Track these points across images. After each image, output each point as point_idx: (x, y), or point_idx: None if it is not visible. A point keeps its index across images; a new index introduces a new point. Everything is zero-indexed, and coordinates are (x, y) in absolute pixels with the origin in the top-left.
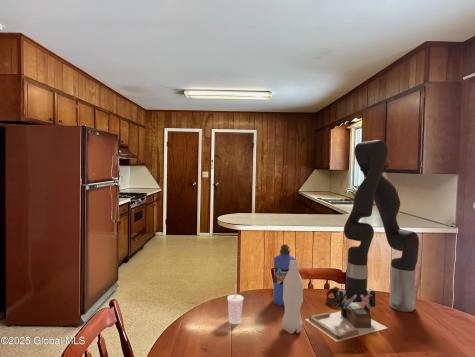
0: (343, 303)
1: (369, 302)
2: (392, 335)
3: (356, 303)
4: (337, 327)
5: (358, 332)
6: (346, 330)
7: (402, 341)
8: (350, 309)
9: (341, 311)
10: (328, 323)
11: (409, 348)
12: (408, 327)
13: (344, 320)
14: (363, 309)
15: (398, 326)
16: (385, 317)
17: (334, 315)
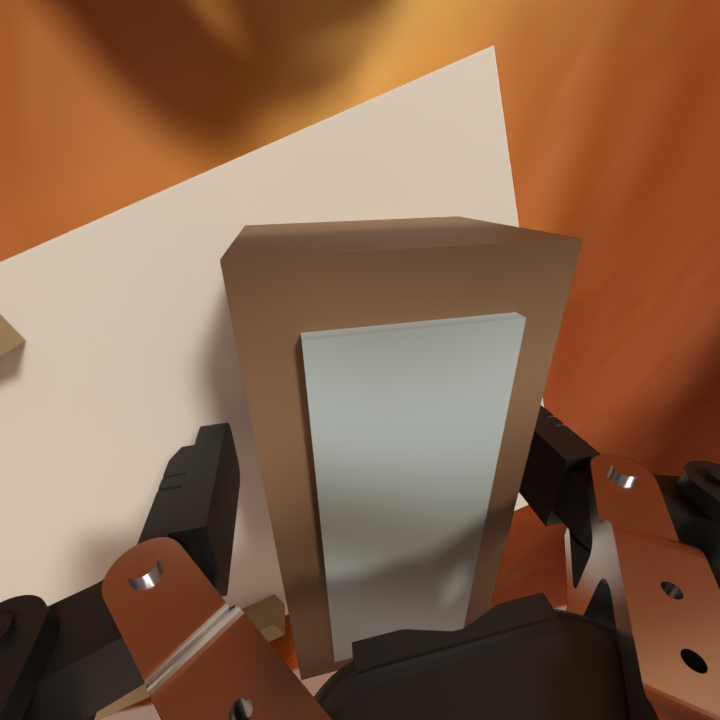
0: (159, 619)
1: (697, 524)
2: (528, 512)
3: (528, 338)
4: (115, 560)
5: (283, 621)
6: None
7: (532, 556)
8: (294, 567)
9: (160, 503)
10: (7, 510)
11: (515, 599)
12: (713, 406)
13: (230, 425)
14: (492, 529)
15: (665, 400)
16: (716, 246)
17: (111, 304)
